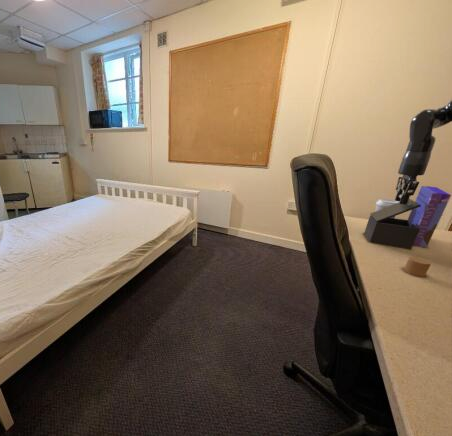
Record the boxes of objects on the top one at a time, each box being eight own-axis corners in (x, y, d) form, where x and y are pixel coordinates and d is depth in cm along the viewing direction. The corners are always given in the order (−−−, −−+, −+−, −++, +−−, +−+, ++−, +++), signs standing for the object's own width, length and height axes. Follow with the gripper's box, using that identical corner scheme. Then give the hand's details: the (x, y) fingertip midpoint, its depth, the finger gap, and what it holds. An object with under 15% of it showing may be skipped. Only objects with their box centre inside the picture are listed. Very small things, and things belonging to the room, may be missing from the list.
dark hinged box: (401, 239, 104) (409, 220, 100) (411, 249, 95) (420, 228, 91) (363, 233, 110) (370, 215, 107) (369, 242, 101) (376, 222, 98)
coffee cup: (397, 231, 113) (408, 203, 108) (382, 232, 112) (392, 204, 106) (377, 224, 122) (387, 198, 117) (363, 225, 120) (372, 199, 115)
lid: (410, 199, 98) (403, 190, 99) (421, 206, 89) (414, 196, 89) (371, 215, 107) (364, 206, 107) (377, 222, 98) (370, 213, 98)
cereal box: (426, 247, 96) (451, 194, 88) (410, 244, 99) (433, 192, 90) (416, 234, 109) (436, 187, 101) (402, 232, 112) (421, 185, 103)
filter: (421, 270, 80) (427, 258, 78) (427, 278, 75) (434, 265, 74) (401, 266, 82) (406, 255, 80) (406, 273, 78) (412, 261, 76)
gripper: (436, 164, 83) (419, 207, 88) (419, 161, 94) (406, 199, 100) (408, 164, 86) (394, 205, 92) (395, 161, 98) (383, 198, 104)
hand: (400, 202), depth 96 cm, fingers closed on lid, 5 cm apart
